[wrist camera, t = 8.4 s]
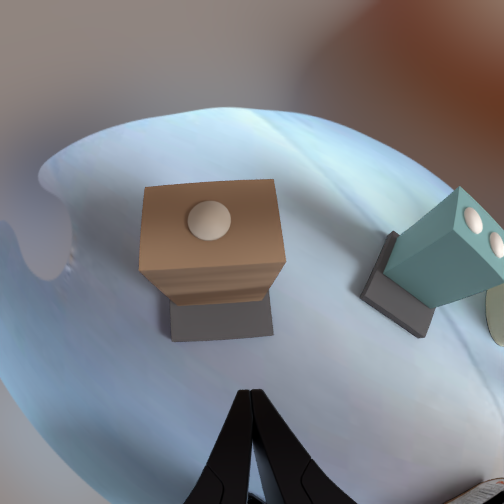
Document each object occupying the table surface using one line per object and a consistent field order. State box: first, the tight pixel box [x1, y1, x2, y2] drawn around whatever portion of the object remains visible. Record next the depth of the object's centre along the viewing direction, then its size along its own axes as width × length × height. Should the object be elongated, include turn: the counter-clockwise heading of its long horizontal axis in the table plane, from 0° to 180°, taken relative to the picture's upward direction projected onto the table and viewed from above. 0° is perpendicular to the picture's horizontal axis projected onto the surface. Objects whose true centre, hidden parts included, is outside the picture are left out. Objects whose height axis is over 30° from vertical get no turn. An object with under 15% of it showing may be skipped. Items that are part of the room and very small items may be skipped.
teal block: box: [383, 186, 504, 309], centre depth 17 cm, size 4×6×9 cm, turn 56°
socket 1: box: [170, 290, 274, 342], centre depth 20 cm, size 7×7×1 cm
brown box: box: [139, 179, 286, 306], centre depth 16 cm, size 4×6×9 cm, turn 95°
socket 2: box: [360, 231, 436, 338], centre depth 22 cm, size 7×7×1 cm
